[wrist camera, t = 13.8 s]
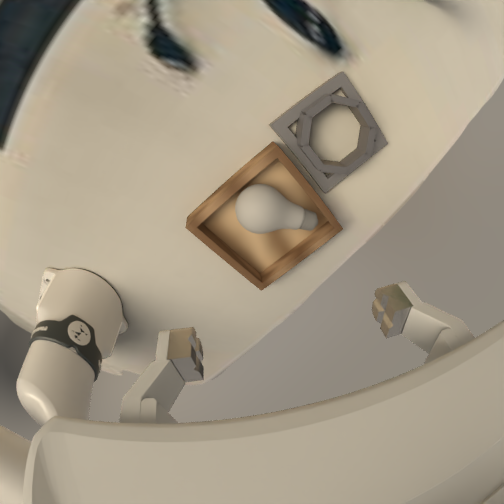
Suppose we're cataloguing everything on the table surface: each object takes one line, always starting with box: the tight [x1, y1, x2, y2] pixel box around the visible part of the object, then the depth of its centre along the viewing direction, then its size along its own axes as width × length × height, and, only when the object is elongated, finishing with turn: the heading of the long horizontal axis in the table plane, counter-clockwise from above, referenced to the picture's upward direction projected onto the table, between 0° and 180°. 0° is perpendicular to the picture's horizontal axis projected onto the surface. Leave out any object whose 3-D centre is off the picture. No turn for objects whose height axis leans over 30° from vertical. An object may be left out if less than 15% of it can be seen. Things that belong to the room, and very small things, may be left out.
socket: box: [269, 72, 388, 193], centre depth 31 cm, size 12×12×2 cm
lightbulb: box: [235, 184, 318, 234], centre depth 34 cm, size 6×6×11 cm
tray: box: [186, 142, 343, 291], centre depth 37 cm, size 15×15×3 cm
